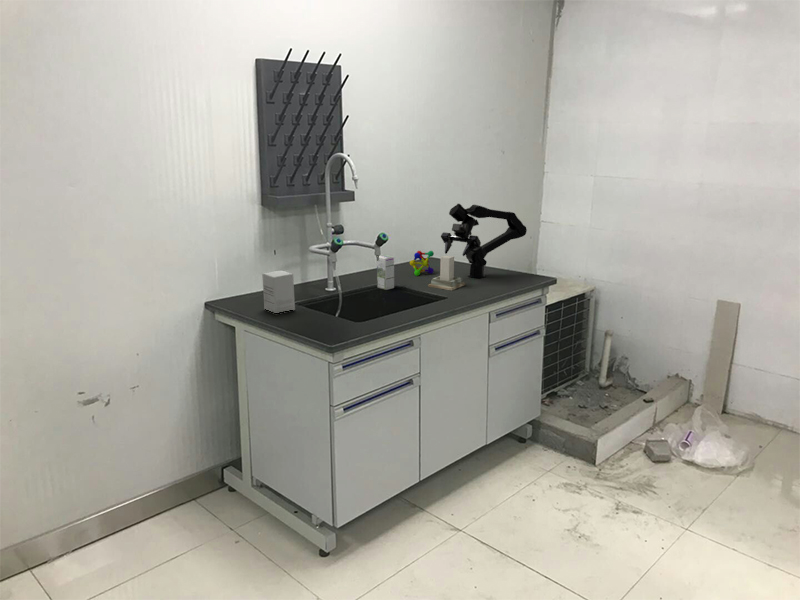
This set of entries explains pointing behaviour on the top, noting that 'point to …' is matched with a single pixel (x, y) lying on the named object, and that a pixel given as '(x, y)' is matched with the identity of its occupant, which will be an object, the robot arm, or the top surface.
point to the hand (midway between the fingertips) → (454, 254)
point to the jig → (446, 283)
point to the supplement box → (278, 291)
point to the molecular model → (424, 262)
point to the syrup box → (385, 272)
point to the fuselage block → (447, 268)
